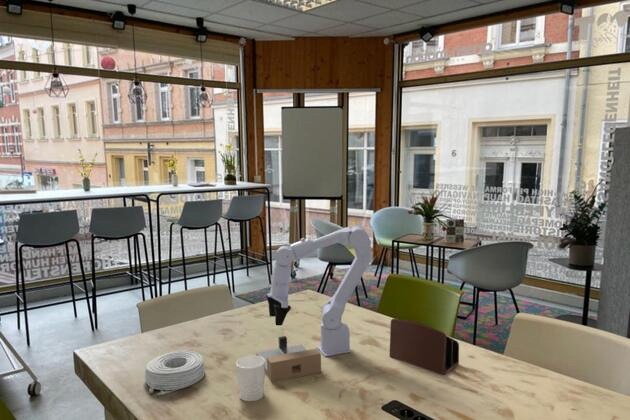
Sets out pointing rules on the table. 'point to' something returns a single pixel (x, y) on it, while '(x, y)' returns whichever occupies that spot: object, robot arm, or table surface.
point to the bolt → (283, 345)
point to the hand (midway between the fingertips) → (275, 320)
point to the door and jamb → (291, 363)
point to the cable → (174, 371)
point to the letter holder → (423, 346)
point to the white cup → (251, 377)
